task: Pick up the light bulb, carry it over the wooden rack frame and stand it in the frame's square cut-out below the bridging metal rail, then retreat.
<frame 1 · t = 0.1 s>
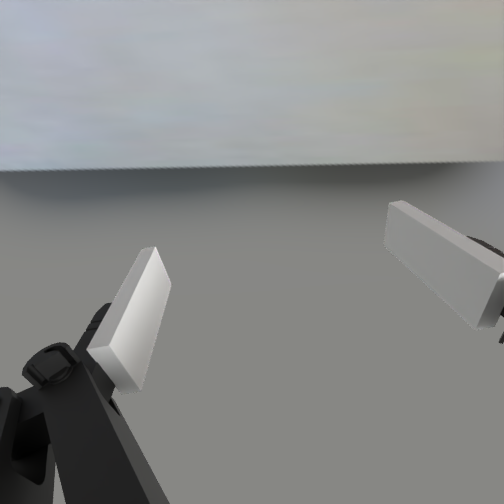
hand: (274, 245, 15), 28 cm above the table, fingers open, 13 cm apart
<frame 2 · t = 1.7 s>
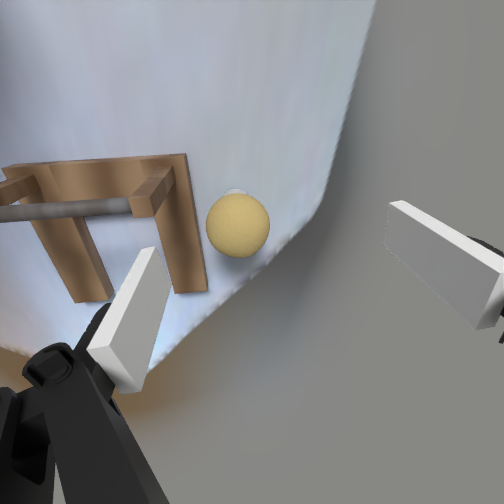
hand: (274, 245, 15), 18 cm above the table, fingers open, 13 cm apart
light bulb: (235, 201, 32), on the table
wooden rack frame: (127, 232, 32), on the table
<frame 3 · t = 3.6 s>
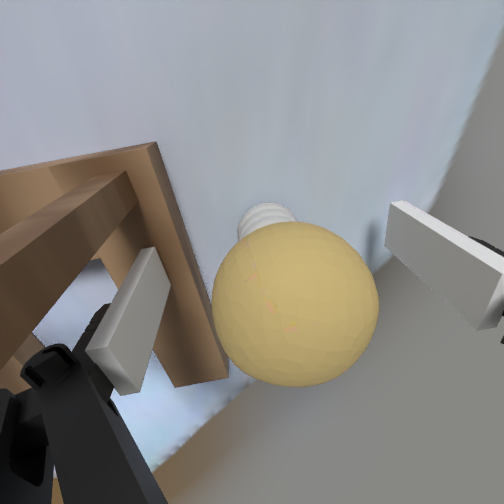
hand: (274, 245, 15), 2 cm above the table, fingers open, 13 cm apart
light bulb: (265, 225, 16), on the table
wooden rack frame: (76, 301, 18), on the table
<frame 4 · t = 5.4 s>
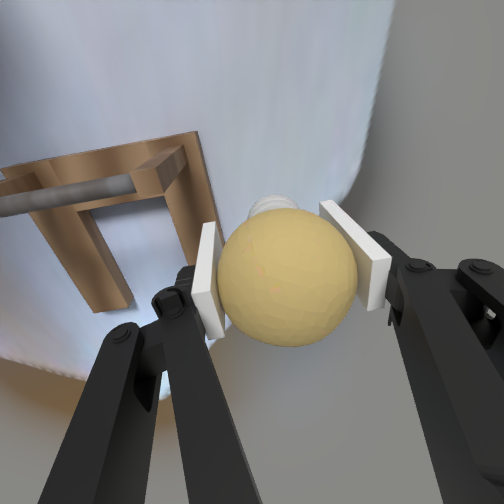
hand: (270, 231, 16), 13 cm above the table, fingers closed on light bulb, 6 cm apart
light bulb: (273, 216, 18), point 10 cm above the table, touching gripper
wooden rack frame: (141, 230, 29), on the table
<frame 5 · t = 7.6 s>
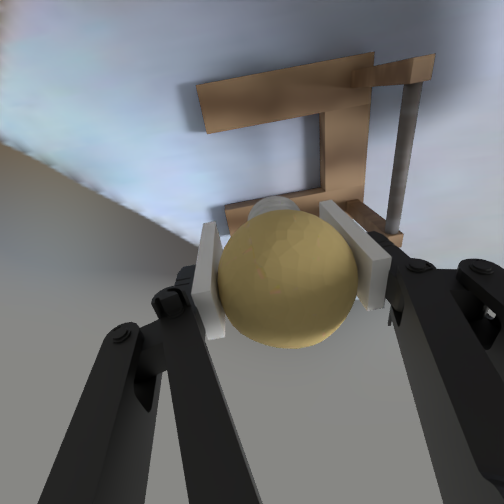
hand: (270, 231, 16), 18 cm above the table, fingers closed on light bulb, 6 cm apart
light bulb: (273, 217, 18), point 16 cm above the table, touching gripper
wooden rack frame: (288, 158, 32), on the table
when the fingers open (2 cm above the table, at t = 10.3 s): light bulb stays where it is, on the table.
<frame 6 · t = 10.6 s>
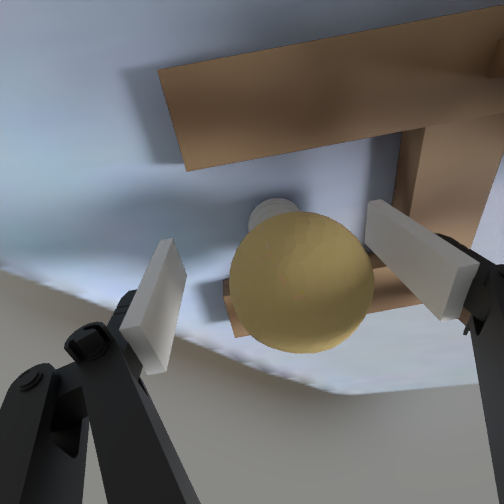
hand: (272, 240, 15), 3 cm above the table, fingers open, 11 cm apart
light bulb: (273, 219, 18), on the table
wooden rack frame: (336, 205, 18), on the table
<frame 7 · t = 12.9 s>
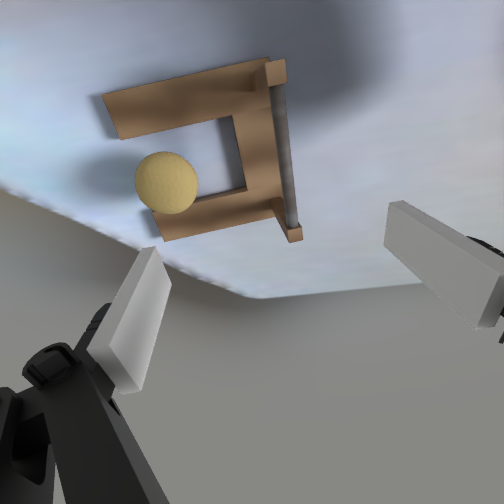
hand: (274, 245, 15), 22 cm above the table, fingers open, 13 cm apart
light bulb: (176, 168, 33), on the table
wooden rack frame: (209, 159, 33), on the table
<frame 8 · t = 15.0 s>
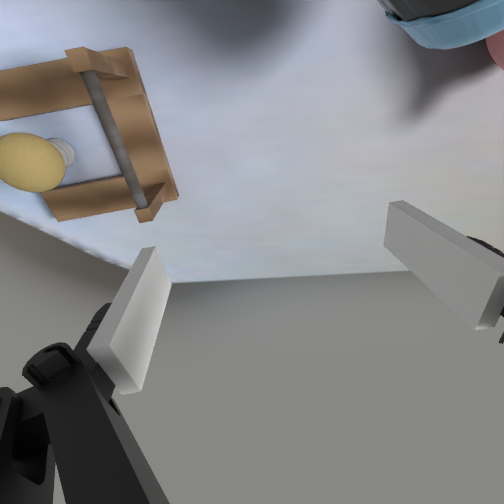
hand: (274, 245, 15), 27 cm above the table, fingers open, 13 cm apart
light bulb: (63, 152, 35), on the table
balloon: (500, 32, 33), on the table
wooden rack frame: (94, 144, 35), on the table
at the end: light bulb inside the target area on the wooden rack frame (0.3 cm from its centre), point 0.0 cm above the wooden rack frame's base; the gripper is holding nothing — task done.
